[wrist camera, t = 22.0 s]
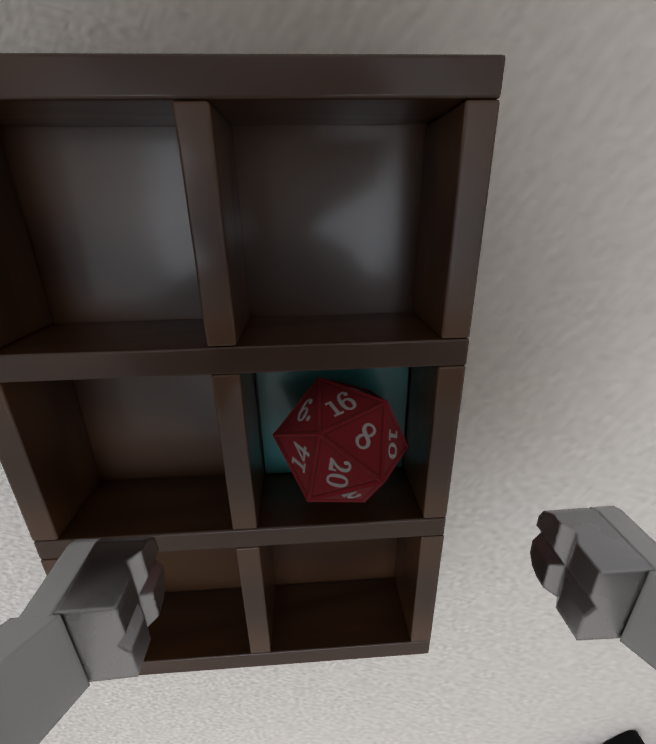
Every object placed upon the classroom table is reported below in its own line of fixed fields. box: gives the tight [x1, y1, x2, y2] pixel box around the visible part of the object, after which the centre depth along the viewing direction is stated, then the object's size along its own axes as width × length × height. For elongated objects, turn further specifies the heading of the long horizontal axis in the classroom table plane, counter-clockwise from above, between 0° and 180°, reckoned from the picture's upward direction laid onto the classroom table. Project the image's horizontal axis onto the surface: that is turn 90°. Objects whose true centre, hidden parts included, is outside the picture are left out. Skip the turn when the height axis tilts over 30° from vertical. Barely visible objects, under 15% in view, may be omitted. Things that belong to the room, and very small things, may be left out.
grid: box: [0, 53, 505, 675], centre depth 13 cm, size 20×13×4 cm
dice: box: [272, 377, 409, 503], centre depth 13 cm, size 4×4×4 cm
